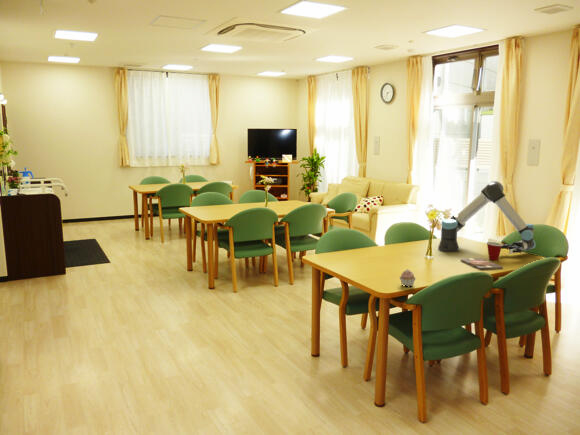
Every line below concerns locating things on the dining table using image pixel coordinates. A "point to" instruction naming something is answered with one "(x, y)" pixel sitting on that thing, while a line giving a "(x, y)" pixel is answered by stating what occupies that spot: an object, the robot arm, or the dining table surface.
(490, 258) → the plastic cup
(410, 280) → the cupcake
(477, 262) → the book
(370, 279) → the dining table surface
